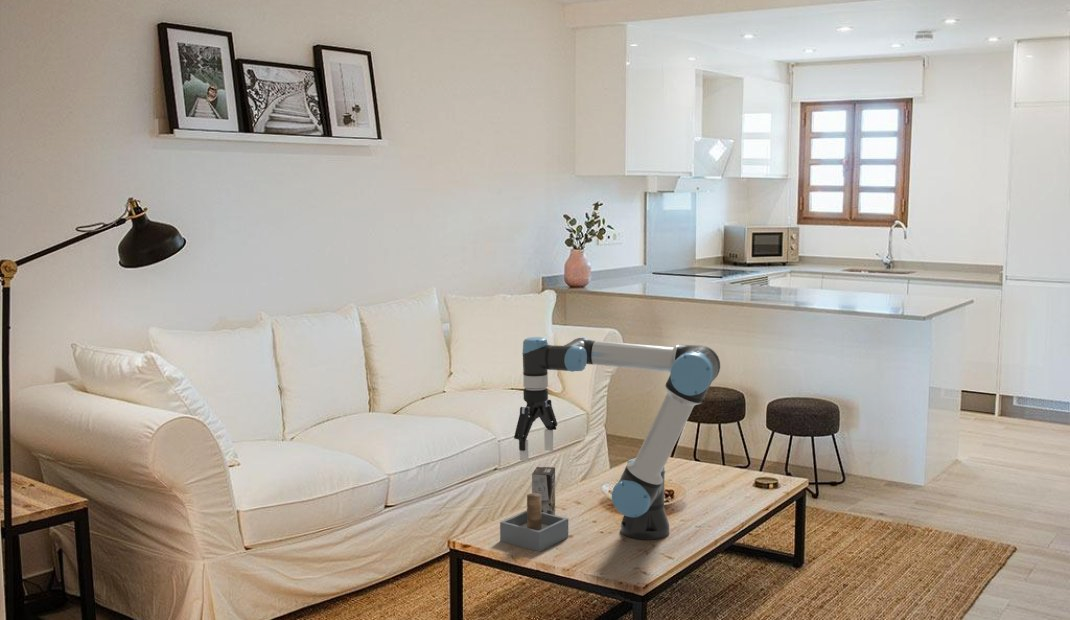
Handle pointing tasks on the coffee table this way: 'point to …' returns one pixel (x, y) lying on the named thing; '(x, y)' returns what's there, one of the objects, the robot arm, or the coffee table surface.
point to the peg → (534, 511)
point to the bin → (534, 531)
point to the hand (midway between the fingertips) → (536, 455)
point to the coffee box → (545, 487)
